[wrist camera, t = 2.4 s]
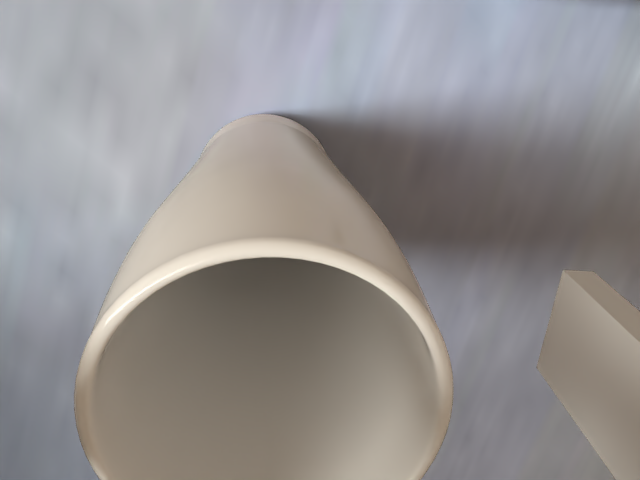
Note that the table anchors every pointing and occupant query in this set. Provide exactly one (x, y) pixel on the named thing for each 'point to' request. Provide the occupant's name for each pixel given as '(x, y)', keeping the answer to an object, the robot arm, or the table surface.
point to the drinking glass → (264, 330)
